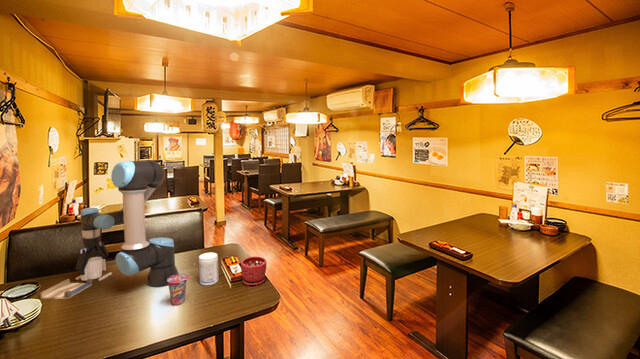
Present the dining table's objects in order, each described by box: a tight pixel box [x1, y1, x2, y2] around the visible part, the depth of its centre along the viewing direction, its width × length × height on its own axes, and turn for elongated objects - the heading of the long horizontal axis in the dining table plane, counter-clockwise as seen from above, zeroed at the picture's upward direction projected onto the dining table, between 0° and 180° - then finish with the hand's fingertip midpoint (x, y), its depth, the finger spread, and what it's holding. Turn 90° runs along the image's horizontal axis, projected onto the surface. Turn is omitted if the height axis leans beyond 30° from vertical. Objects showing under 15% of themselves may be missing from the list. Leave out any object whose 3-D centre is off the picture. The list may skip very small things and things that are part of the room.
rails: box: [75, 271, 113, 282], centre depth 157 cm, size 14×8×1 cm, turn 88°
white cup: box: [85, 256, 103, 280], centre depth 156 cm, size 8×8×10 cm
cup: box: [167, 273, 191, 307], centre depth 131 cm, size 9×8×12 cm
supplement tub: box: [198, 251, 220, 286], centre depth 152 cm, size 10×10×15 cm
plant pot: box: [240, 256, 267, 286], centre depth 152 cm, size 13×13×12 cm
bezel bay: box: [39, 278, 94, 300], centre depth 141 cm, size 13×14×3 cm
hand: (94, 275), depth 157 cm, fingers open, 12 cm apart
